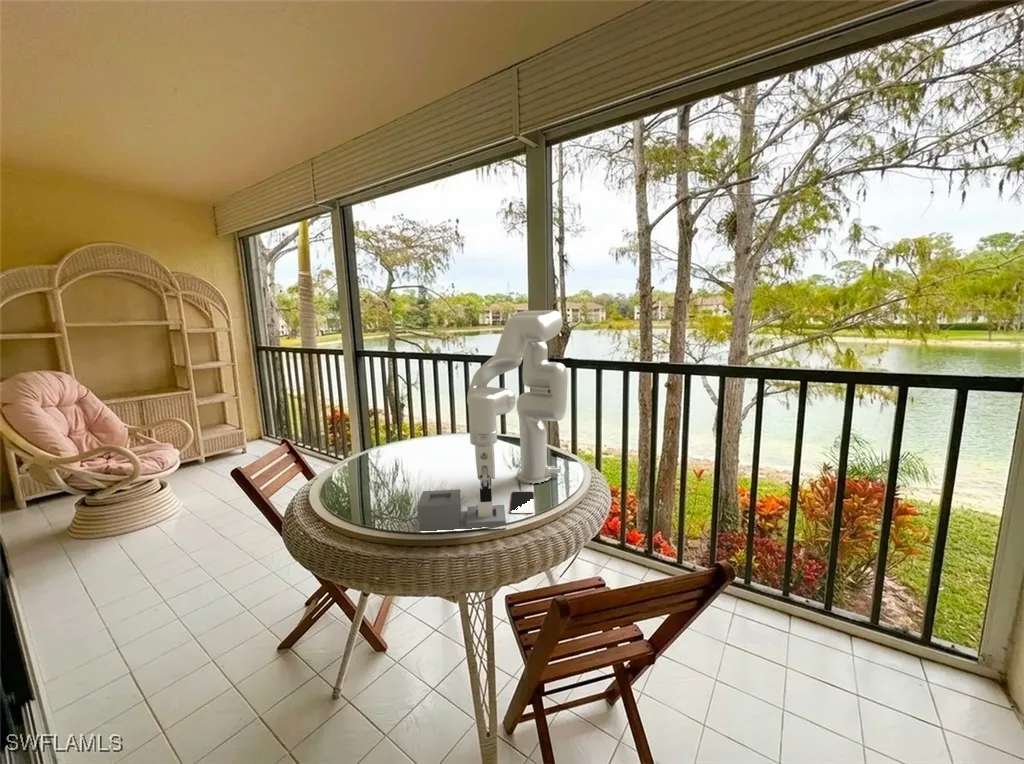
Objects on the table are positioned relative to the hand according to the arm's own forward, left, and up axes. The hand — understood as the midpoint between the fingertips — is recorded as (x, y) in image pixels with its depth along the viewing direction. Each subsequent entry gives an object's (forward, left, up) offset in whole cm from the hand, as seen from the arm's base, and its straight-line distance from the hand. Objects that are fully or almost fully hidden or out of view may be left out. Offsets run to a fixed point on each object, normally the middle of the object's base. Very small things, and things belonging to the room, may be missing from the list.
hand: (486, 493), depth 122 cm
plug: (0, 0, -7) cm, 7 cm away
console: (+7, 0, -8) cm, 11 cm away
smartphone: (-11, -11, -9) cm, 18 cm away
